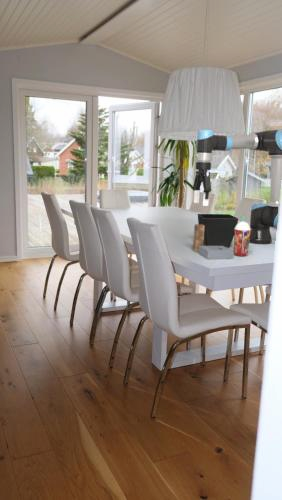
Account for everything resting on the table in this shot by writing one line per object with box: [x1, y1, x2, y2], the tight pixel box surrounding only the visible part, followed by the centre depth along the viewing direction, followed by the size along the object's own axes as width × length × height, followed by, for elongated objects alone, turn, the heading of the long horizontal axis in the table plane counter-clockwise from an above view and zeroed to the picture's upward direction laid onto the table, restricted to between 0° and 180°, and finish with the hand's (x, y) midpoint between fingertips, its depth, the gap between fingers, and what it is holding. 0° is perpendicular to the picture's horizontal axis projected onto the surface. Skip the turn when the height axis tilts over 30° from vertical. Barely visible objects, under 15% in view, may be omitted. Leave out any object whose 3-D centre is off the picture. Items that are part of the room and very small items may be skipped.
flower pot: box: [197, 213, 239, 248], centre depth 249 cm, size 19×19×17 cm
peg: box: [192, 223, 205, 253], centre depth 231 cm, size 4×4×14 cm
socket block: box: [197, 245, 234, 260], centre depth 222 cm, size 13×13×4 cm
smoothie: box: [233, 215, 251, 257], centre depth 225 cm, size 8×8×20 cm
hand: (200, 204), depth 227 cm, fingers open, 13 cm apart
